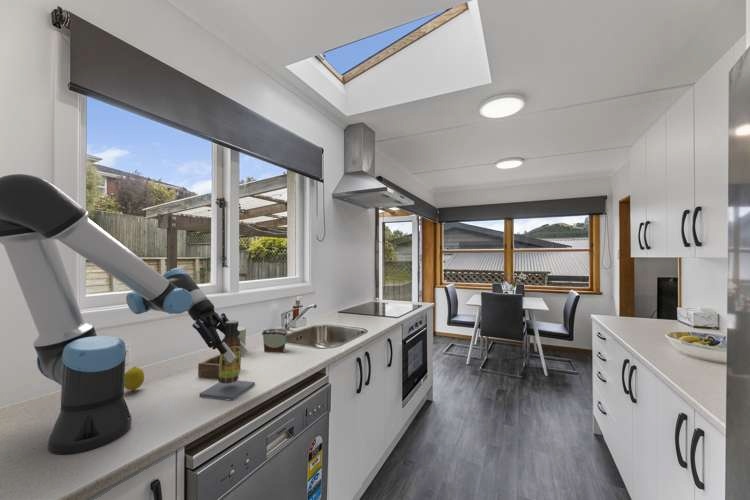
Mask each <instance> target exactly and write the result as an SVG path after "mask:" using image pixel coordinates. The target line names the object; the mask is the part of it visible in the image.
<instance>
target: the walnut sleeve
mask: <svg viewBox="0 0 750 500" xmlns="http://www.w3.org/2000/svg"><path fill="white" fill-rule="evenodd" d="M241 359H242V356H240V364H239V371H240V370H241V362H242V361H241ZM219 362H220V354H216V355H215V356H212V357H210V358H208V359H205V360H203V361H201V362H199V363H198V366H197V367H198V368H197V369H198V370H197V371H198V372H197V378H203V379H204V378H205V379H214V380H219Z"/></svg>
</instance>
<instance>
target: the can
mask: <svg viewBox="0 0 750 500" xmlns="http://www.w3.org/2000/svg"><path fill="white" fill-rule="evenodd" d="M238 331H239V332H240V334H239V336H238V337H239V339H240V340H241V341H242V342H243V344H244V345H245V346H246V340H247V339H246V336H247V335H246V334H247V328H246V327H245V326H238ZM240 357H243V356H242V355H241V354H240Z"/></svg>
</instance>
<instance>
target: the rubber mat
mask: <svg viewBox="0 0 750 500" xmlns="http://www.w3.org/2000/svg"><path fill="white" fill-rule="evenodd" d="M255 382H256V381H248V380H239V379H238V380H237V381H236V382H233V383H226V384H225V383H220V382H219V381H218V382H217V383H215V384H214V385H211V386H209V387H208V388H207V389H205V390H203V391H202V392H200V393H199V395H198V396H199V398H207V399H215V398H216V399H219V400H225V399H229V400H228V401H235V400H236V399H238V396H239V397H240V396H241V395H243V394H244V393H246V392H247V391H248V390H249V389H251V388H252V387H254V386H255V384H256V383H255ZM235 398H236V399H235Z"/></svg>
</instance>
